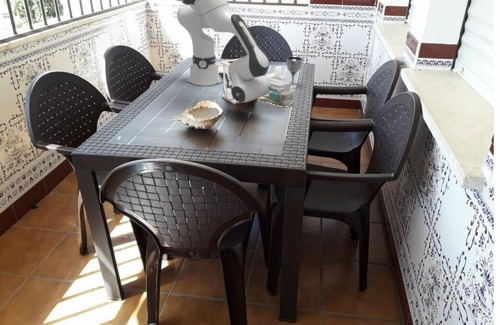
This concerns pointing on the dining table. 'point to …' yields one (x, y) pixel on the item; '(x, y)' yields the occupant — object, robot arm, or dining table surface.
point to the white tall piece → (278, 79)
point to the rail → (283, 99)
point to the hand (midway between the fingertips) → (278, 79)
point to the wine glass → (293, 65)
